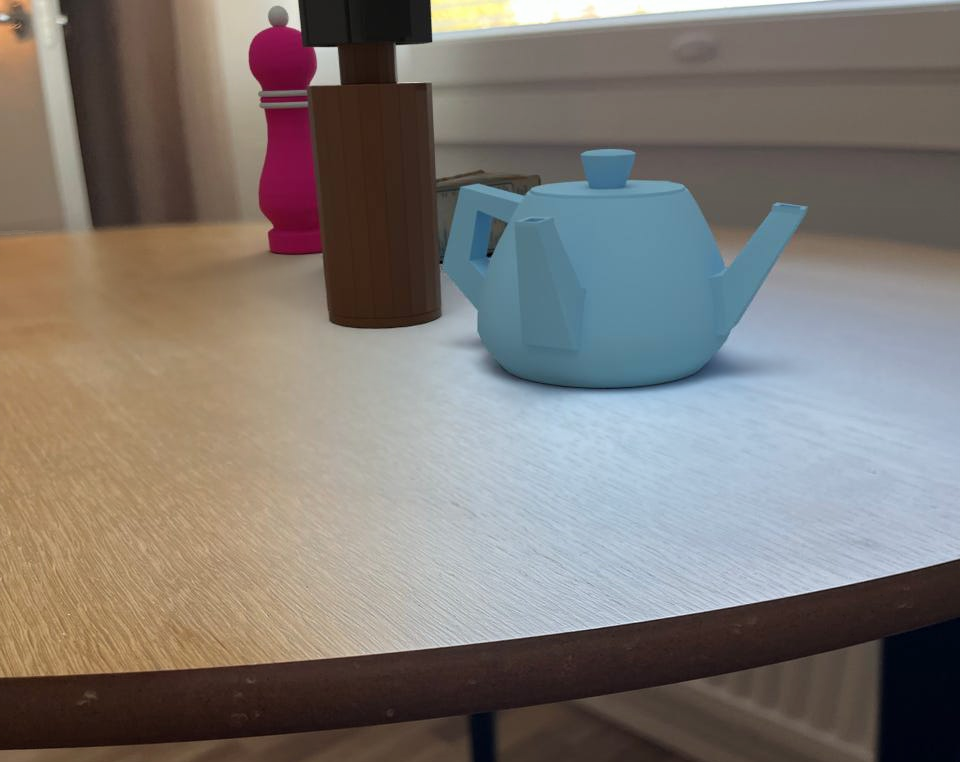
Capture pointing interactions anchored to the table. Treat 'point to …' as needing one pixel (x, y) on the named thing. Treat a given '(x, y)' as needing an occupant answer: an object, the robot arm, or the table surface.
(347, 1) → the black octagonal ring
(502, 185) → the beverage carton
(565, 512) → the table surface
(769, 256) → the teapot
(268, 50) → the pepper mill
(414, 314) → the bottle
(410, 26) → the robot arm
